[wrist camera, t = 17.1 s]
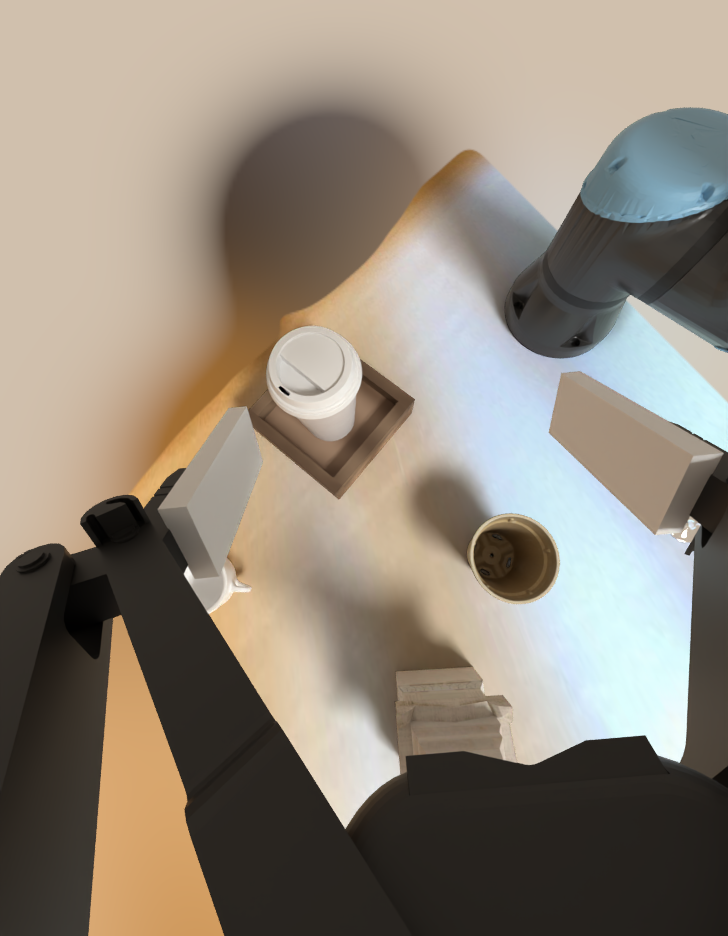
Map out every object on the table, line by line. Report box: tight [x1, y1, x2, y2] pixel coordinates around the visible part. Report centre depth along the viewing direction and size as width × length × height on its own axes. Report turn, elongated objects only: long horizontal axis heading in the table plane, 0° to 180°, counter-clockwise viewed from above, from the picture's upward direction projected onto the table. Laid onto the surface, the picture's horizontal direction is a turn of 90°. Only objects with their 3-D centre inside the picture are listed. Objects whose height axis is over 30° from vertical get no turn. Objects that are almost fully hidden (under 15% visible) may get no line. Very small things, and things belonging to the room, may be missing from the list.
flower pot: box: [467, 514, 560, 604], centre depth 42 cm, size 9×9×9 cm
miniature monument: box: [395, 667, 517, 774], centre depth 28 cm, size 10×10×30 cm
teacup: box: [184, 558, 252, 614], centre depth 44 cm, size 10×8×5 cm
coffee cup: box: [266, 326, 362, 441], centre depth 40 cm, size 10×10×15 cm
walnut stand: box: [248, 359, 415, 499], centre depth 48 cm, size 16×16×5 cm
